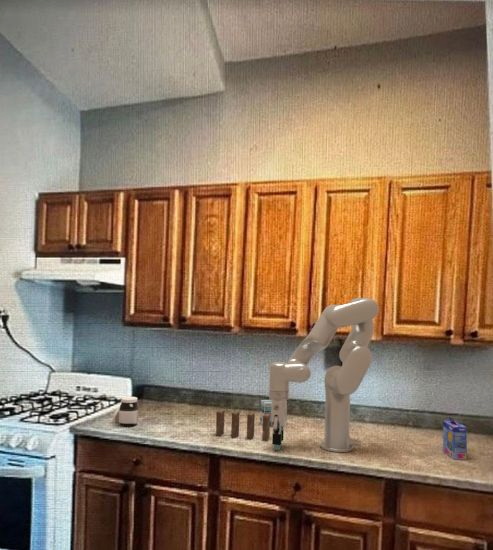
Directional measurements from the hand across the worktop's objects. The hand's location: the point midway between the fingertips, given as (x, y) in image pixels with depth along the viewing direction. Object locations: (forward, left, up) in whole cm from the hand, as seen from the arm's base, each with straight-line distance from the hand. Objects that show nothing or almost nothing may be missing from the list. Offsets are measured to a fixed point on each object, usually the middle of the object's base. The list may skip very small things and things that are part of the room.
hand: (277, 441), depth 198 cm
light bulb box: (+8, -35, -3) cm, 36 cm away
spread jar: (+70, -13, -3) cm, 72 cm away
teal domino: (0, 0, -3) cm, 3 cm away
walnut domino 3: (+13, -11, -3) cm, 17 cm away
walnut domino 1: (+26, -11, -3) cm, 29 cm away
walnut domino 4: (+7, -11, -3) cm, 13 cm away
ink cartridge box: (-66, -14, -3) cm, 67 cm away
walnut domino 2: (+20, -11, -3) cm, 23 cm away
